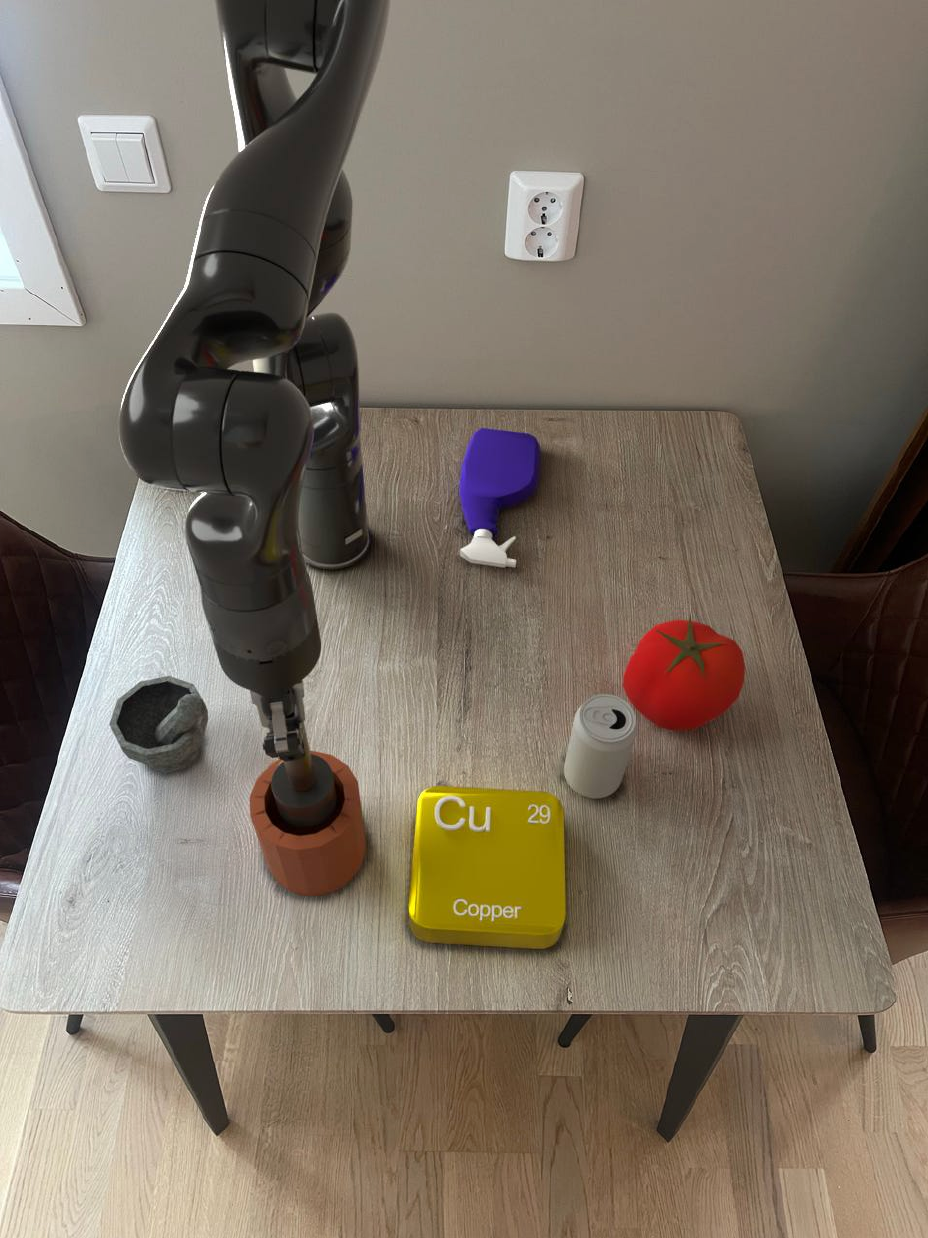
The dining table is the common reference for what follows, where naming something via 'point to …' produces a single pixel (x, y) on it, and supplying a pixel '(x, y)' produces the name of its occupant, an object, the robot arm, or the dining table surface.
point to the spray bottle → (495, 488)
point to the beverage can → (600, 745)
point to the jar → (311, 836)
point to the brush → (304, 789)
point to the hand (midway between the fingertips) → (291, 740)
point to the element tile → (488, 868)
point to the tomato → (684, 675)
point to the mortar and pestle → (160, 723)
